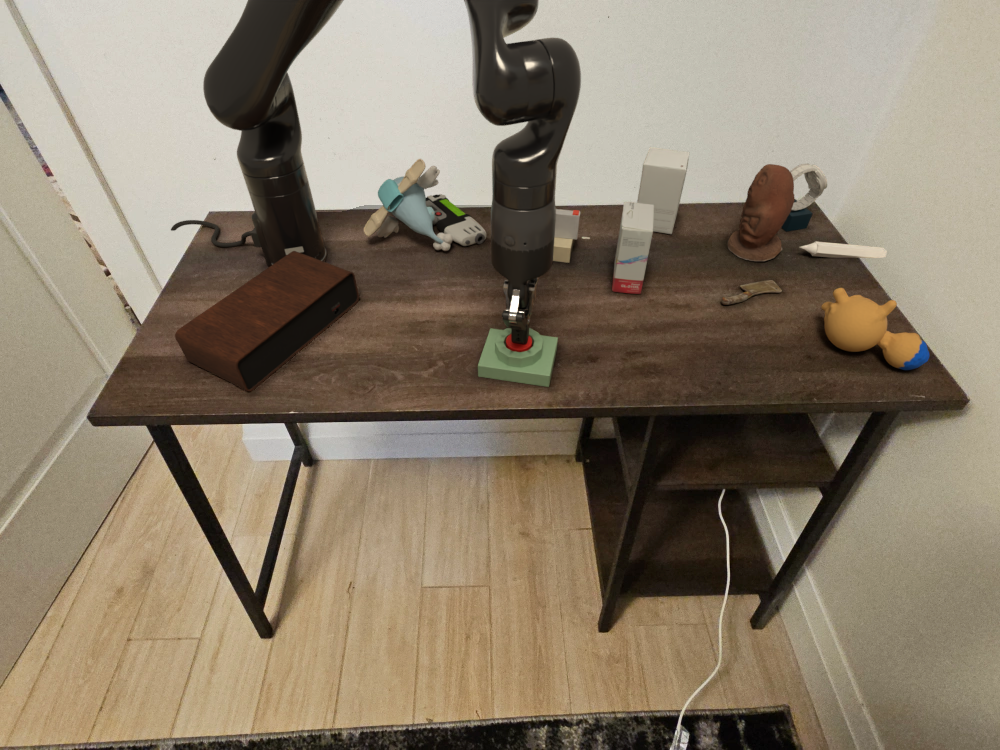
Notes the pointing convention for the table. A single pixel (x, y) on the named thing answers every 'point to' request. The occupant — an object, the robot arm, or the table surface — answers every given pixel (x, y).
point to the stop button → (518, 345)
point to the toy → (871, 330)
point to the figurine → (764, 214)
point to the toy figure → (408, 205)
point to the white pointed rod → (843, 250)
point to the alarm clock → (268, 319)
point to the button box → (518, 359)
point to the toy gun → (455, 221)
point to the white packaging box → (663, 185)
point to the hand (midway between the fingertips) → (520, 340)
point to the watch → (816, 184)
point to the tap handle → (567, 223)
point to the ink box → (633, 247)
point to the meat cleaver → (752, 291)
